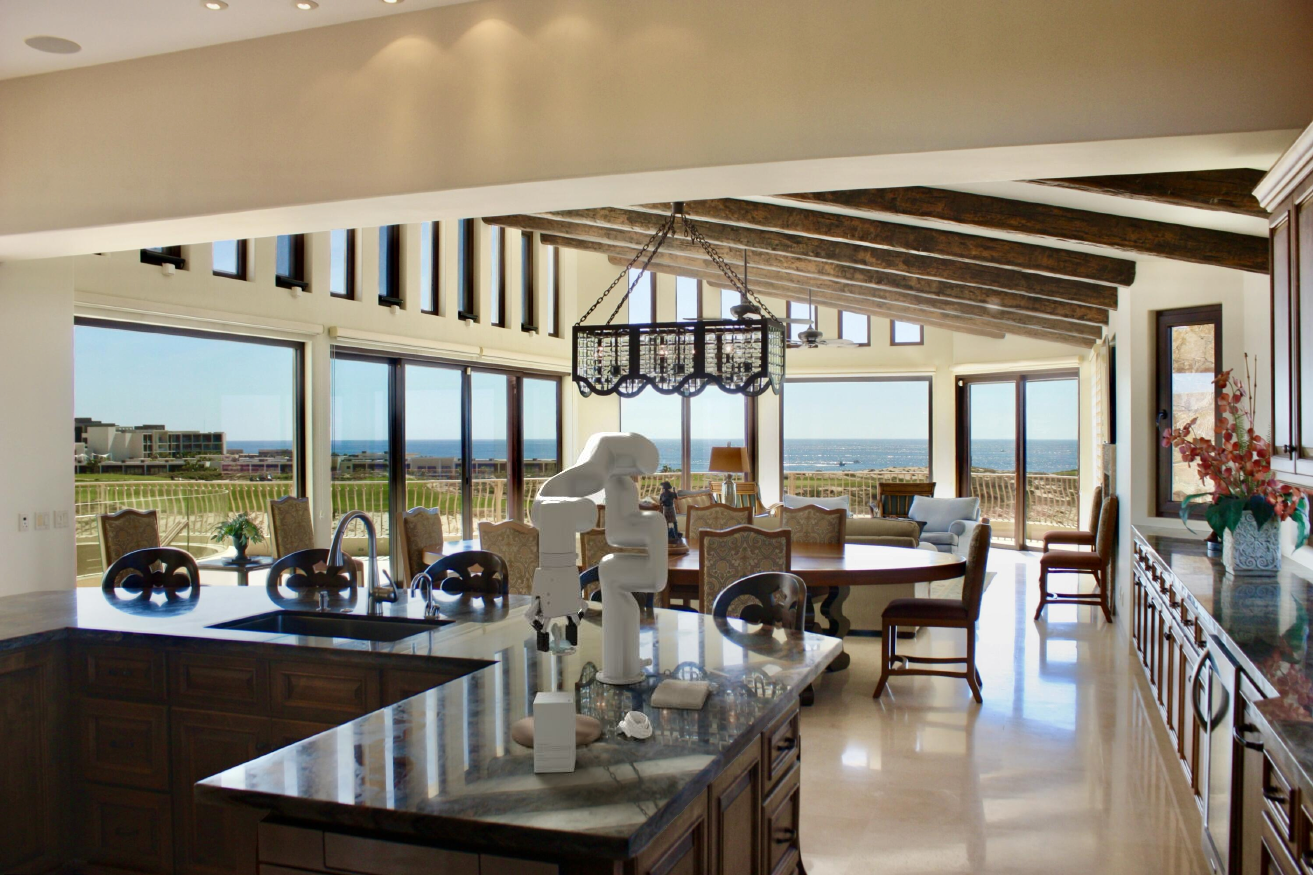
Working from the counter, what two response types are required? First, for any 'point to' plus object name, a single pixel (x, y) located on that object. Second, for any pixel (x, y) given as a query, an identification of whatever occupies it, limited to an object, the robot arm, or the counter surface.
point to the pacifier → (560, 643)
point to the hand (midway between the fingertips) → (557, 647)
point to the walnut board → (584, 730)
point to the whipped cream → (635, 725)
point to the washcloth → (680, 694)
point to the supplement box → (554, 732)
